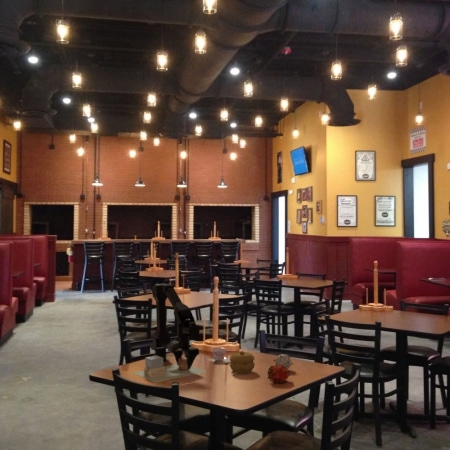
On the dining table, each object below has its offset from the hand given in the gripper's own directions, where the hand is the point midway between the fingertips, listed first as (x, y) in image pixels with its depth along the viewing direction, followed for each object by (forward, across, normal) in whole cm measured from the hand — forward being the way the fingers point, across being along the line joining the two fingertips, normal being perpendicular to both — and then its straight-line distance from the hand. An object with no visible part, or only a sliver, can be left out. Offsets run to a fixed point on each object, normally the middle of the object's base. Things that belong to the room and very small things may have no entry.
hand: (183, 367), depth 250 cm
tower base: (+1, 0, -16) cm, 16 cm away
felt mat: (+2, 0, -8) cm, 8 cm away
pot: (+2, +21, +19) cm, 28 cm away
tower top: (-3, 0, -16) cm, 16 cm away
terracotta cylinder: (+1, 0, 0) cm, 1 cm away
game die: (+2, +31, +36) cm, 48 cm away
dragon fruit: (+2, +44, +21) cm, 49 cm away
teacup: (+2, -4, +24) cm, 24 cm away
